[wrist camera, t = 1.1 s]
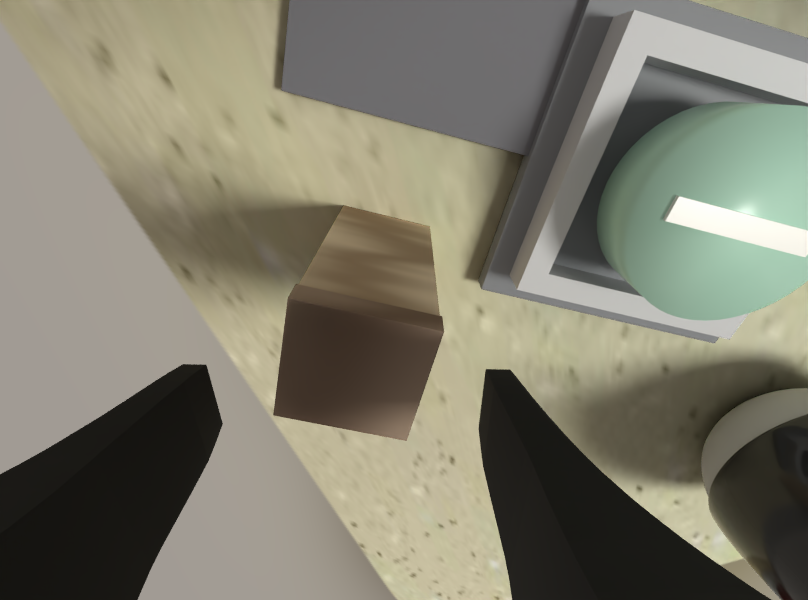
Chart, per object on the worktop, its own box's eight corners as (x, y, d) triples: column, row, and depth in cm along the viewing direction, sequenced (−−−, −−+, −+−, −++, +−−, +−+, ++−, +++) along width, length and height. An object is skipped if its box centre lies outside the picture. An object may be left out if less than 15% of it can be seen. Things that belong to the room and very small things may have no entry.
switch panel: (884, 71, 15) (962, 70, 13) (702, 332, 21) (736, 361, 19) (588, -21, 14) (620, -40, 12) (478, 279, 20) (486, 304, 18)
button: (844, 131, 14) (930, 141, 12) (721, 305, 17) (770, 340, 15) (656, 76, 13) (708, 75, 11) (566, 268, 17) (591, 298, 14)
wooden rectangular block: (430, 225, 19) (444, 332, 11) (409, 302, 21) (406, 440, 13) (342, 204, 18) (288, 297, 10) (328, 284, 20) (273, 415, 12)
